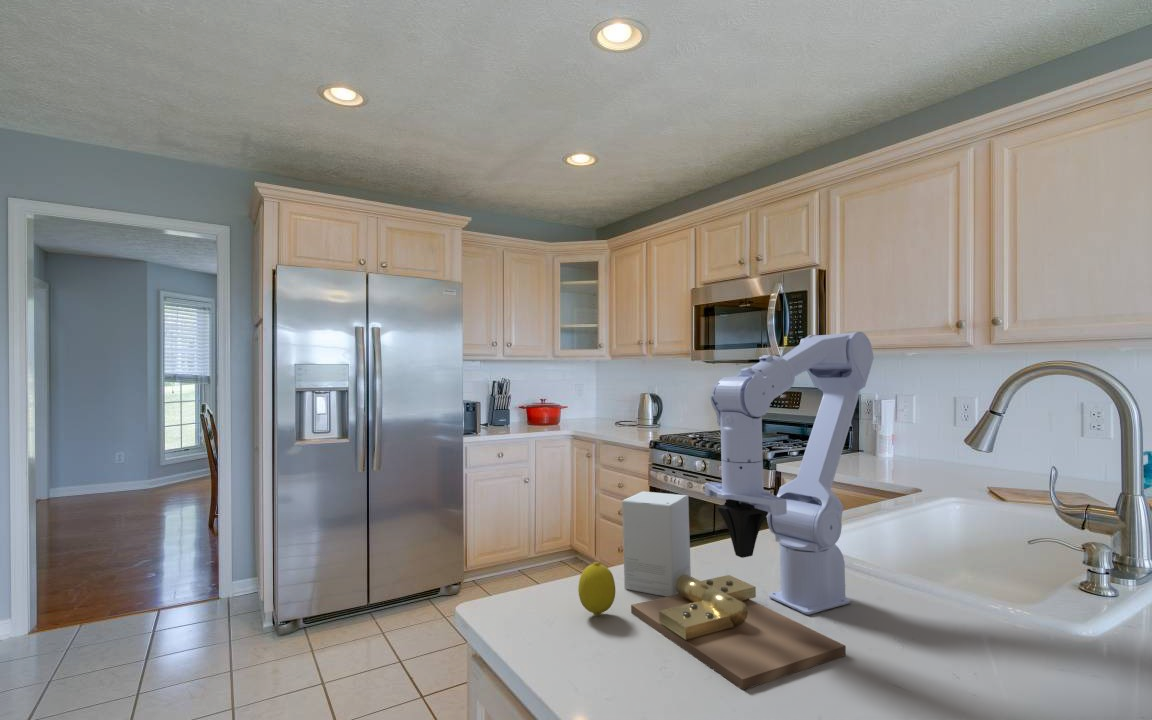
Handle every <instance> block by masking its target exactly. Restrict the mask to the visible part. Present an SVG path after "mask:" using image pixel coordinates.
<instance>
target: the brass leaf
mask: <svg viewBox="0 0 1152 720" xmlns="http://www.w3.org/2000/svg"><path fill="white" fill-rule="evenodd" d="M747 614H748V609H747V606H746V604H745V603H743V602H742V601H740V600H738V599H735V598H733V597H731V596H729V595H727V594H725V593H723V592H721V591H719V590H717V589H715V588H713V587H710V588H708V589H706V590H705V591H704V593H703V595H702V601H698V602H694V603H689V604H685V605H681V606H677V607H673V608H668V609H664V610H660V611H659V622H660V623H661V624H663V625H664V626H666V627H667V628H669V629H670V630H672V631H673V632H675V633H676V634H678V635H679V636H681V637H682V638H684V639H685V640H687V639H691V638H694V637H698V636H702V635H705V634H709V633H713V632H716V631H720V630H724V629H727V628H731V627H733V624H734V625H736V626H738V625H741V624H743V623H744V621H745V620H746V618H747Z"/></svg>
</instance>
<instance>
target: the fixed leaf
mask: <svg viewBox="0 0 1152 720" xmlns="http://www.w3.org/2000/svg"><path fill="white" fill-rule="evenodd" d="M710 587H713V588H715V589H717V590H719V591H721V592H723V593H725V594H727V595H729V596H731V597H733V598H735V599H738V600H740V601H743V600H747V599H750V600H752V599H754V598H757V592H756V590H757V589H756V587H757V586H755V585H752V584H750V583H748V582H747V581H746V582H745V581H743V580H741V579H739V578H737V577H735V576H732V575H731V574H726V575H722V576H717V577H713V578H709V579H704V580H700V579H697V578H695V577H693V576H692V575H691V576H689V575H687V574H684V575H681V576H680V577H679V578H678V579H677V581H676V590H677V592H678V593H677V594H680V595H682V596H683V597H685V598H687V599H689V600H691V601H692V602H698V601H702V595H703V593H704V591H705V590H706V589H708V588H710Z"/></svg>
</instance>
